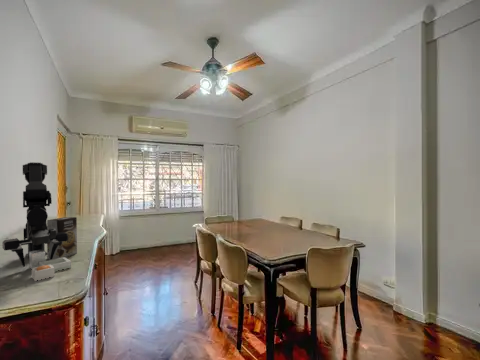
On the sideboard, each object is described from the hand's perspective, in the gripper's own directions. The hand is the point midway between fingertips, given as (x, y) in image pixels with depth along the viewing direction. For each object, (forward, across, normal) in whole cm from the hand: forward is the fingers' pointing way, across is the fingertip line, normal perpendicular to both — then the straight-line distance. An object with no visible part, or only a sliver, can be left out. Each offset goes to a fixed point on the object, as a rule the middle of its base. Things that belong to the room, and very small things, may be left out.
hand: (37, 263), depth 97 cm
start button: (0, -1, -14) cm, 14 cm away
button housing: (+1, -1, -14) cm, 14 cm away
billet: (+2, 0, 0) cm, 2 cm away
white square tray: (+1, +4, -6) cm, 8 cm away
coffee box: (+2, +10, +10) cm, 15 cm away
